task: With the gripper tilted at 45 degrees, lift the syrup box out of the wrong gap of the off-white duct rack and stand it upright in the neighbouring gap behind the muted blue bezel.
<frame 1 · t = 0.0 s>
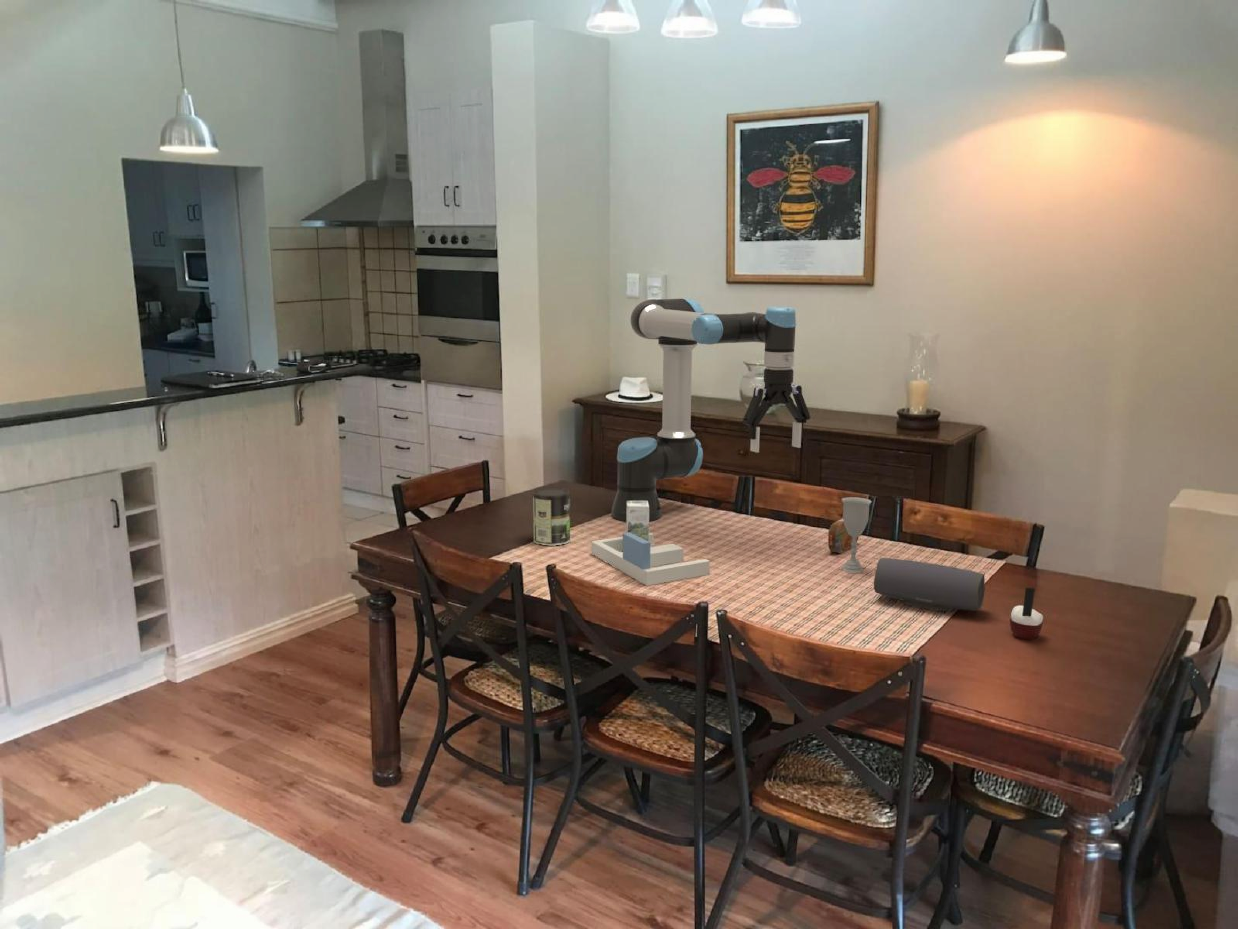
hand: (775, 449, 258), 28 cm above the table, tool pointing down, fingers open, 13 cm apart
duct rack: (652, 564, 254), on the table
brown stone slab: (842, 550, 267), on the table
chalice: (852, 570, 250), on the table
bluetooth speaker: (927, 607, 224), on the table
syrup box: (637, 556, 260), resting in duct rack
cocoa: (1024, 637, 206), on the table
coffee can: (551, 541, 273), on the table
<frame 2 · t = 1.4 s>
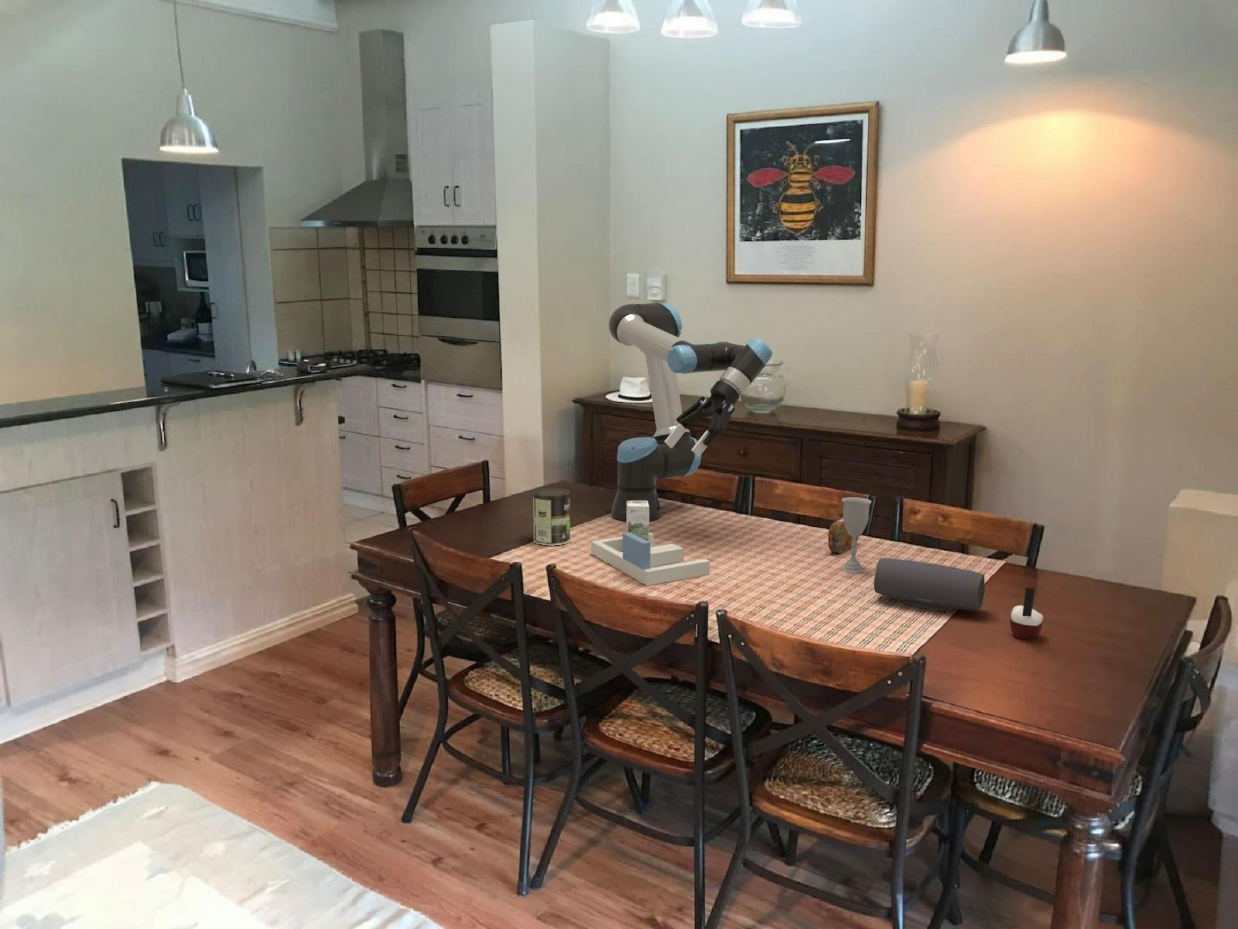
hand: (681, 449, 260), 27 cm above the table, tool tilted 45°, fingers open, 13 cm apart
nothing on the table moved.
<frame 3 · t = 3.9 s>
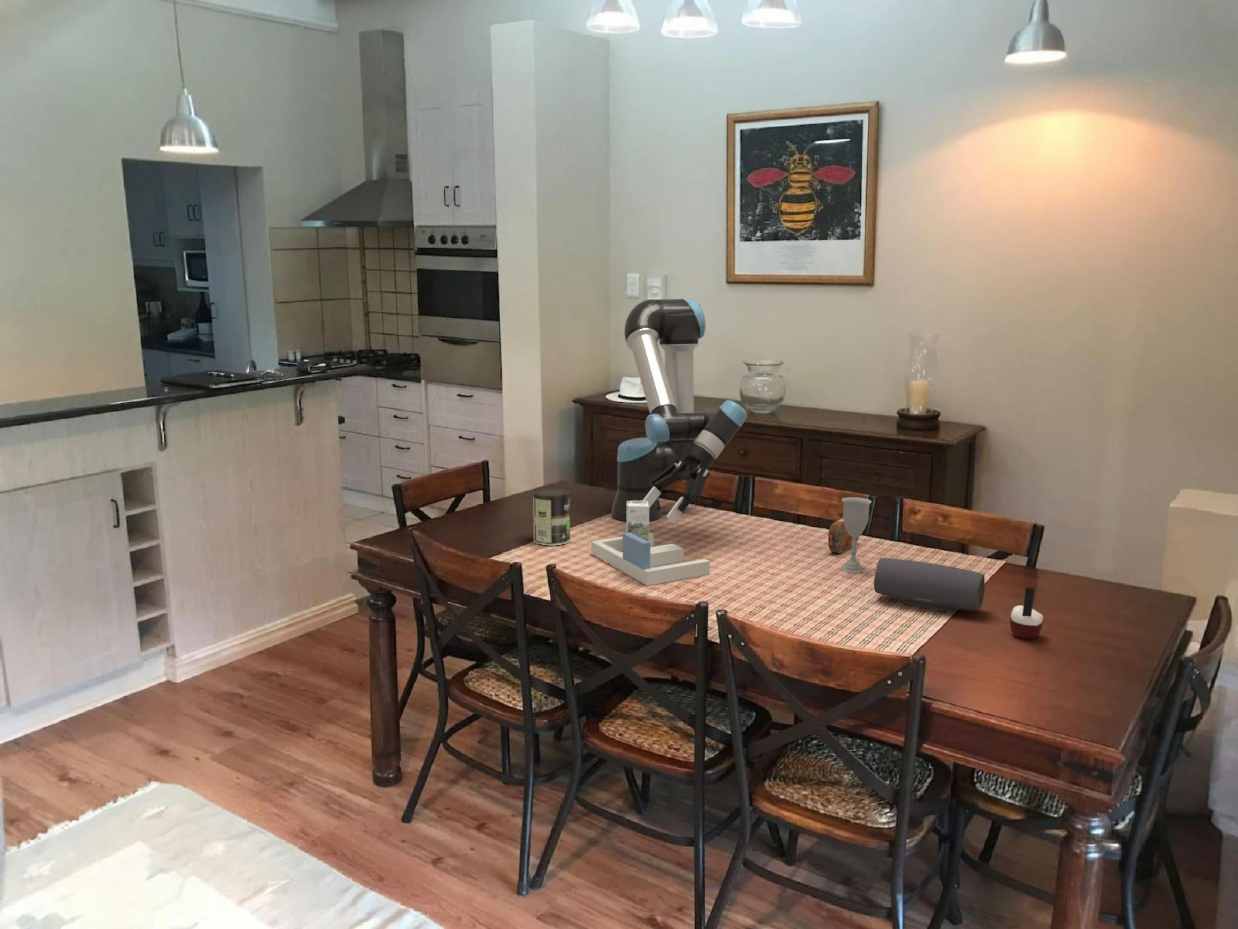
hand: (656, 514, 259), 11 cm above the table, tool tilted 45°, fingers open, 13 cm apart
nothing on the table moved.
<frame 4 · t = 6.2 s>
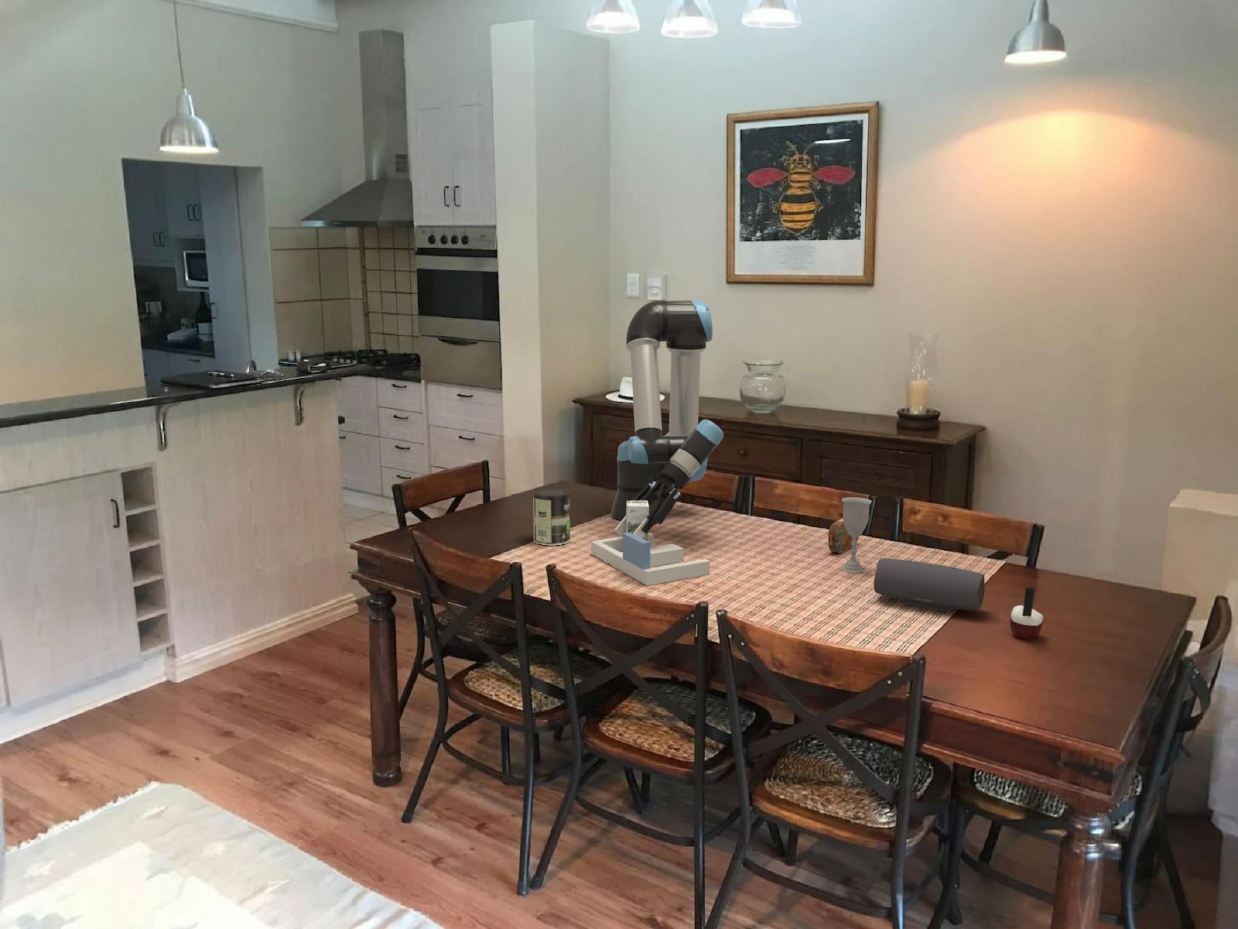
hand: (625, 537, 258), 6 cm above the table, tool tilted 45°, fingers closed on syrup box, 7 cm apart
syrup box: (637, 556, 260), resting in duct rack, touching gripper
everything else where it was.
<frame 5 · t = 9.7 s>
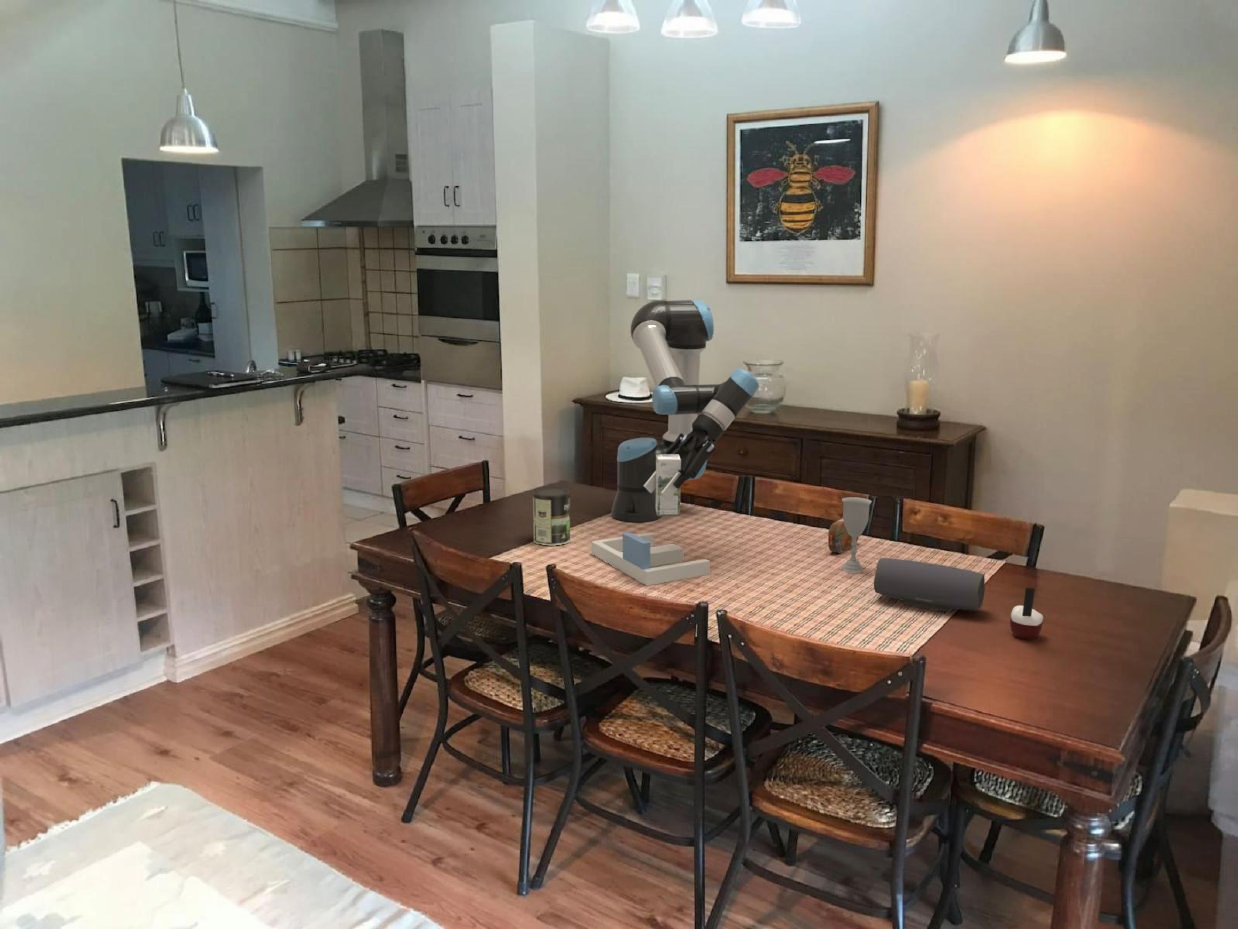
hand: (656, 492, 242), 21 cm above the table, tool tilted 45°, fingers closed on syrup box, 7 cm apart
syrup box: (667, 514, 244), point 15 cm above the table, touching gripper
everything else where it was.
when the fingers open (7 cm above the table, at t = 13.3 s): syrup box drops 1 cm, resting in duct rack.
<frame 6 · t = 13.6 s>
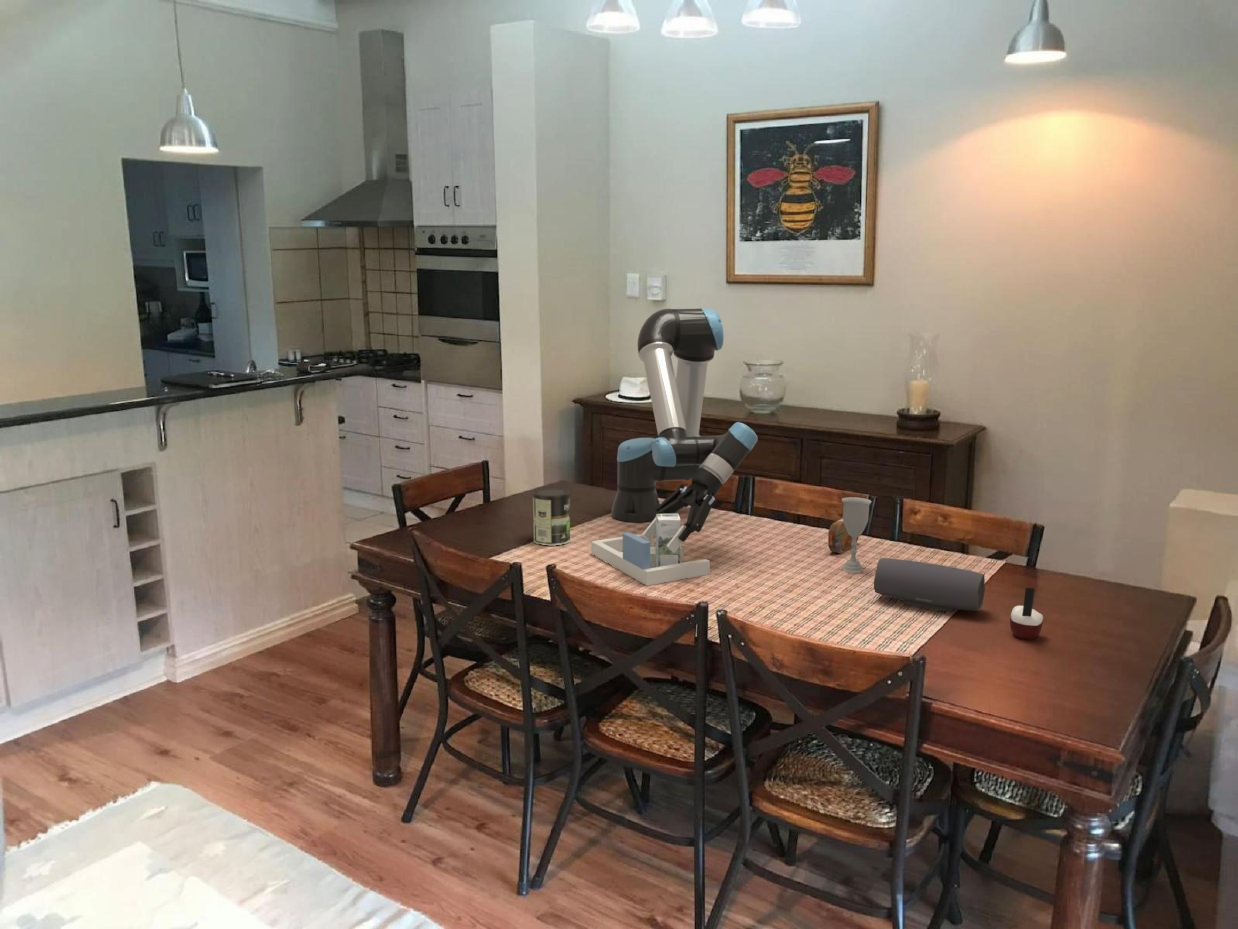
hand: (657, 543, 245), 8 cm above the table, tool tilted 45°, fingers open, 11 cm apart
syrup box: (667, 572, 247), resting in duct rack
everything else where it was.
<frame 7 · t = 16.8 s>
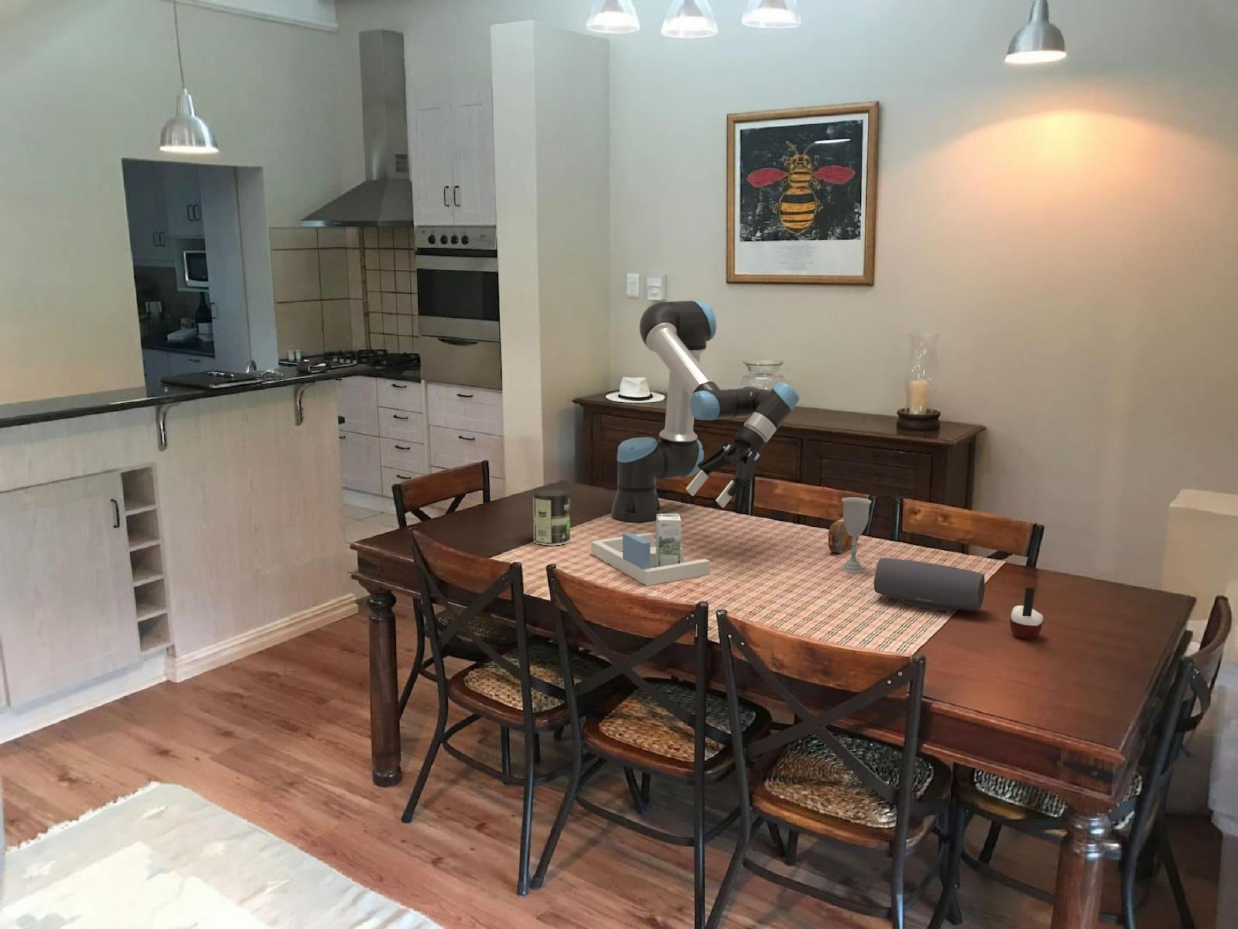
hand: (704, 498, 249), 18 cm above the table, tool tilted 45°, fingers open, 13 cm apart
nothing on the table moved.
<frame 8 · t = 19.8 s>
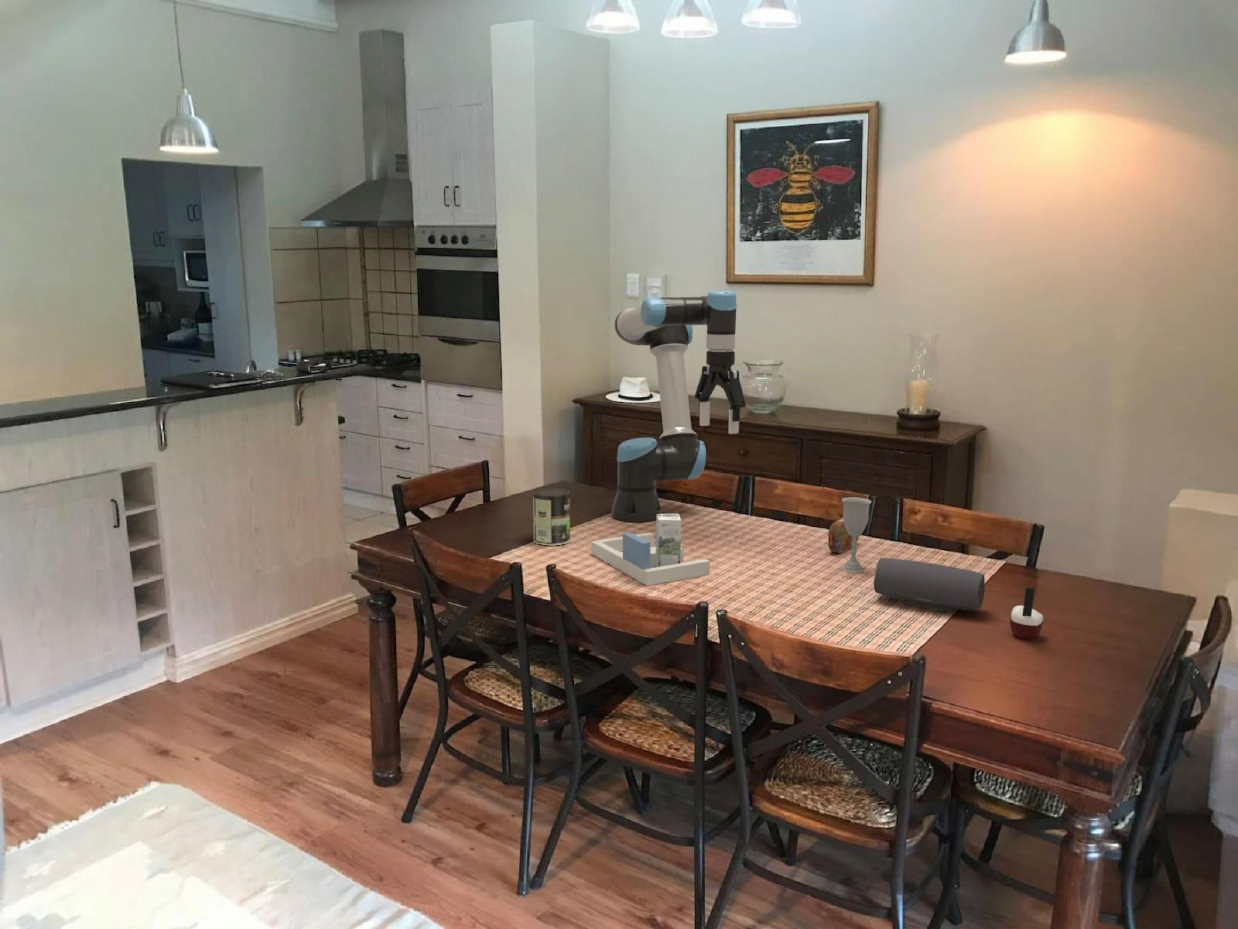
hand: (718, 429, 266), 32 cm above the table, tool pointing down, fingers open, 13 cm apart
nothing on the table moved.
at the end: syrup box inside the target area on the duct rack (0.2 cm from its centre), point 0.0 cm above the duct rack's base; syrup box tilted 0°; the gripper is holding nothing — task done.
